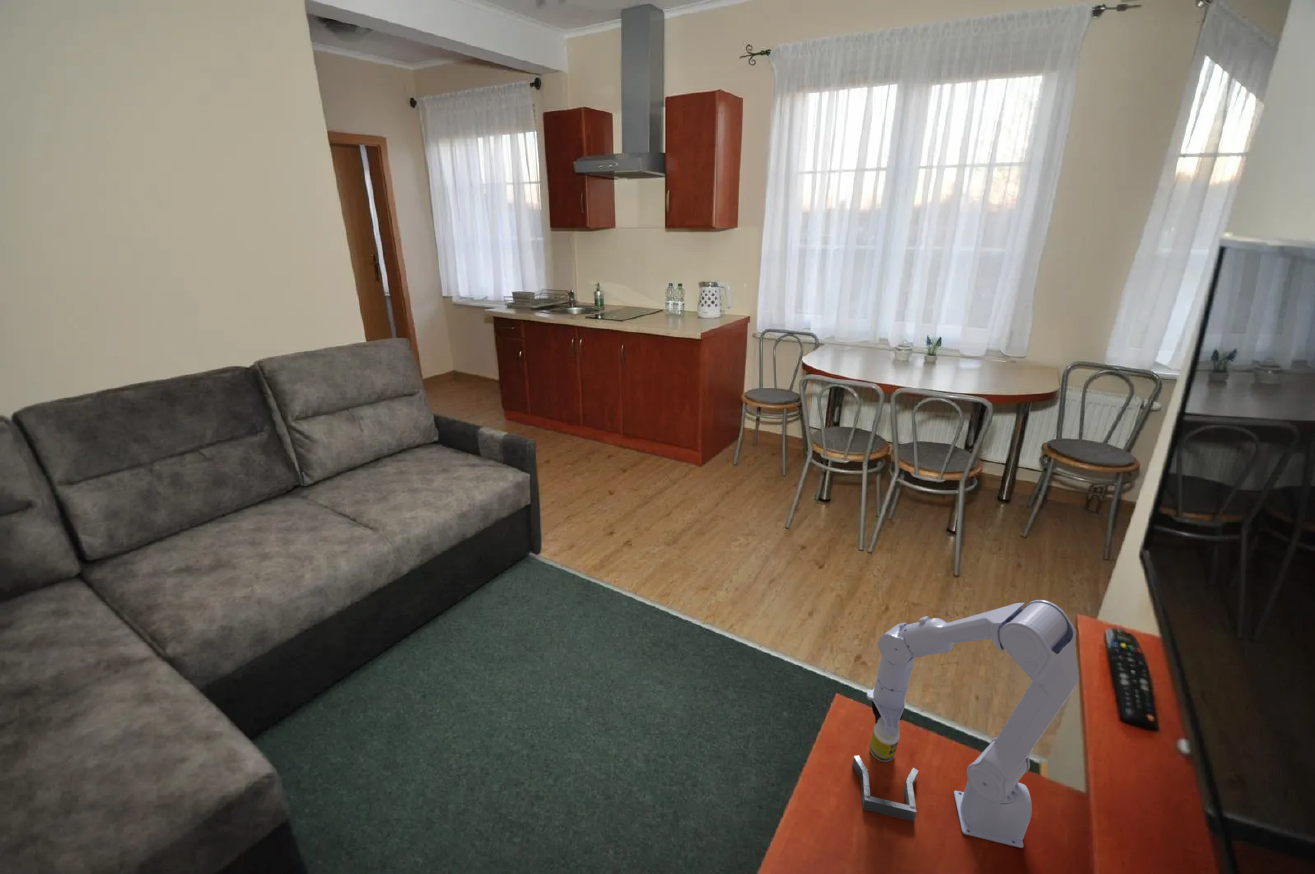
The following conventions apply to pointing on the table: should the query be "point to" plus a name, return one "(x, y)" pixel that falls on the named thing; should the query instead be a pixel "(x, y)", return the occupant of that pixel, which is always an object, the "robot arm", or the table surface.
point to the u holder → (883, 805)
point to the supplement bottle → (883, 742)
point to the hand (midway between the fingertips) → (881, 731)
